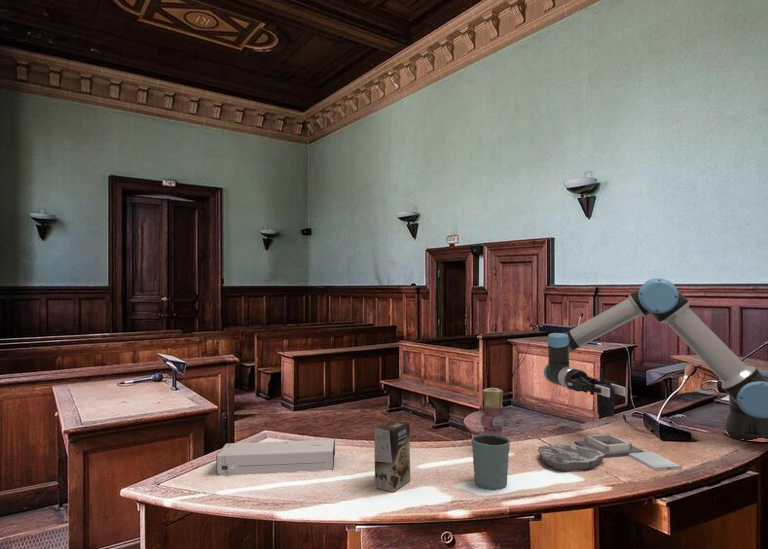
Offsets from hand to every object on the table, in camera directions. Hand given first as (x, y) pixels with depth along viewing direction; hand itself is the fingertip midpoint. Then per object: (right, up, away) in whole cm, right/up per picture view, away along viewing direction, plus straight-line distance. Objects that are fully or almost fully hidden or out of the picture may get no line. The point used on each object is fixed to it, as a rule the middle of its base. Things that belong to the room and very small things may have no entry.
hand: (616, 392), depth 153 cm
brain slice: (-18, -20, -6) cm, 28 cm away
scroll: (-38, -20, +4) cm, 44 cm away
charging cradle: (-1, -19, +4) cm, 20 cm away
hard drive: (+7, -20, -8) cm, 23 cm away
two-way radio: (-1, -9, +5) cm, 10 cm away
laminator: (-106, -22, -6) cm, 108 cm away
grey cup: (-44, -20, -22) cm, 53 cm away
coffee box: (-71, -20, -21) cm, 77 cm away
